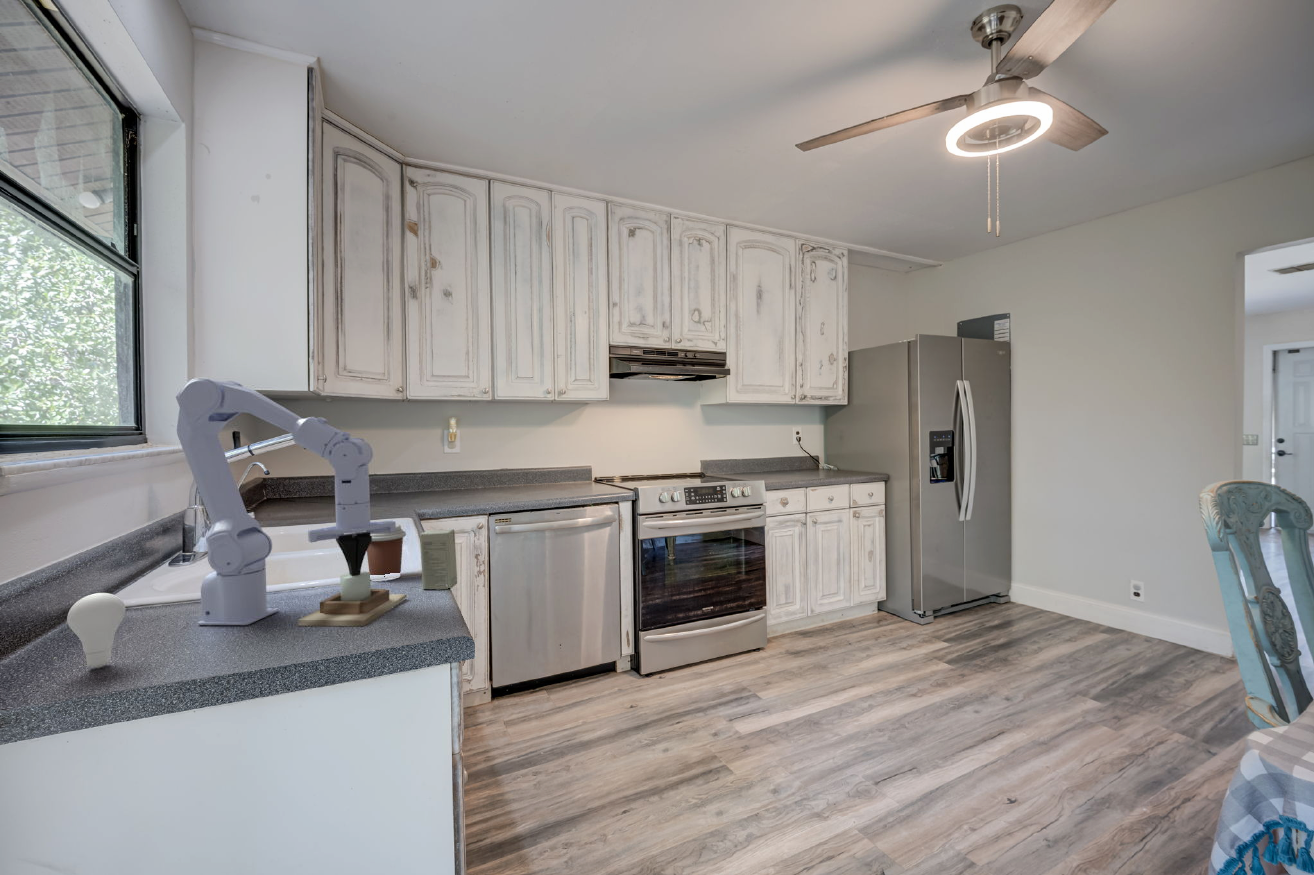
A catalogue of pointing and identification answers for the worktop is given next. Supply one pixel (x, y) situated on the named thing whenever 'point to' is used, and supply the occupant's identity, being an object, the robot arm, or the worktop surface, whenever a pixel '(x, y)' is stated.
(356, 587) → the sage cap
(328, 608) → the socket board
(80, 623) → the lightbulb
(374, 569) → the coffee cup
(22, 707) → the worktop surface
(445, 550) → the skincare box
